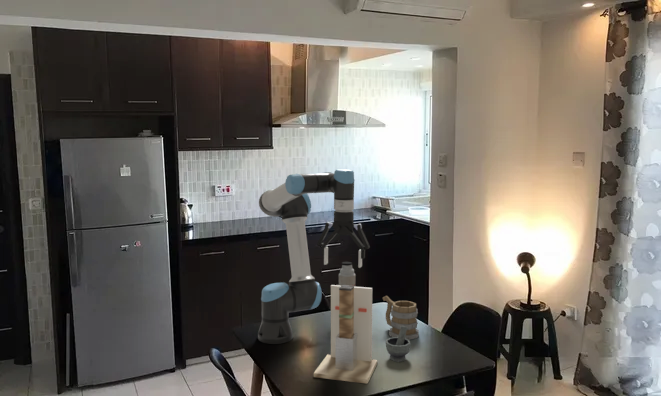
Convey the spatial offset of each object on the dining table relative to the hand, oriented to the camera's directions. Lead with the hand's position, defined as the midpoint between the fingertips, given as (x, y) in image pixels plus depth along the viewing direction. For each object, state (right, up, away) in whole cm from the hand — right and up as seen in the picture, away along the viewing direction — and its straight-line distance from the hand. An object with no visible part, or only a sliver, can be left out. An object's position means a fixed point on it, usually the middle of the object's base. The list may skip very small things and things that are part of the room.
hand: (342, 265), depth 208 cm
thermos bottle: (+3, -33, +53) cm, 62 cm away
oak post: (+1, -31, -5) cm, 31 cm away
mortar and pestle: (+22, -38, +7) cm, 44 cm away
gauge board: (+3, -37, +2) cm, 37 cm away
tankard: (+26, -35, +36) cm, 56 cm away
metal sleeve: (+1, -37, -5) cm, 37 cm away
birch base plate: (+1, -39, -4) cm, 39 cm away
